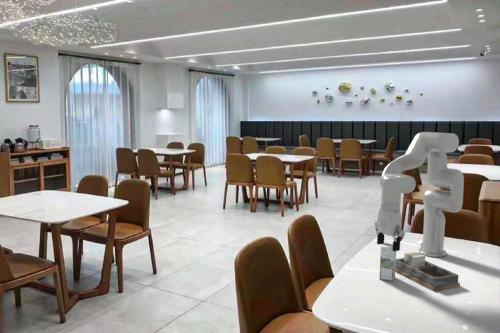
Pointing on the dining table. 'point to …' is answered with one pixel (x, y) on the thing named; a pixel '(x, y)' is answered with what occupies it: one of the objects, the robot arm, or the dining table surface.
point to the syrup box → (387, 262)
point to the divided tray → (425, 272)
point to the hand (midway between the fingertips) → (388, 247)
